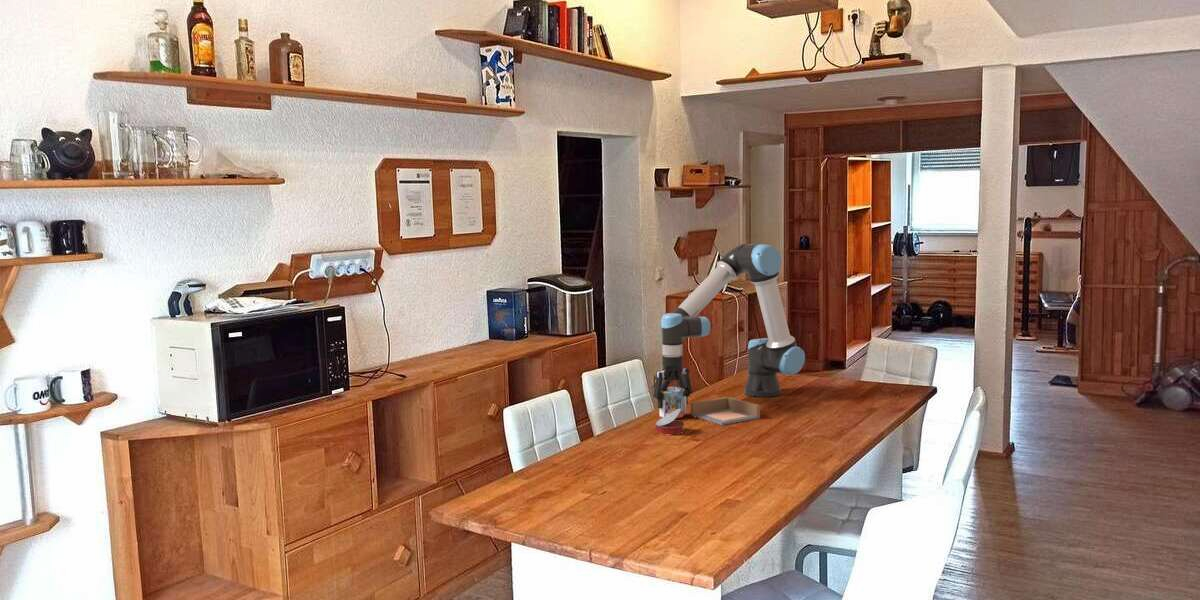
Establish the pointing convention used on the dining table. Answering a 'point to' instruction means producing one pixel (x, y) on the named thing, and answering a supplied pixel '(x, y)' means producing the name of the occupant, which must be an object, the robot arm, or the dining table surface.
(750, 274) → the robot arm
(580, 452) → the dining table surface
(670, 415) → the canned food
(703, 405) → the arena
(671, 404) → the mug
